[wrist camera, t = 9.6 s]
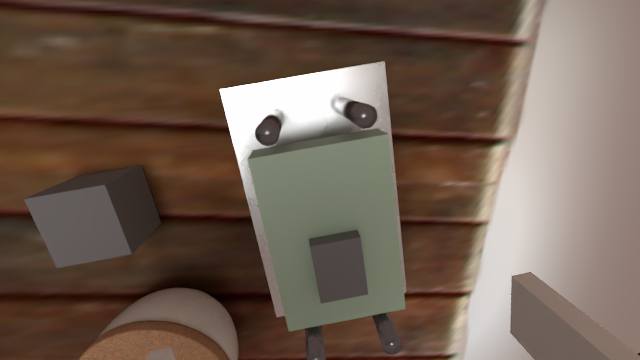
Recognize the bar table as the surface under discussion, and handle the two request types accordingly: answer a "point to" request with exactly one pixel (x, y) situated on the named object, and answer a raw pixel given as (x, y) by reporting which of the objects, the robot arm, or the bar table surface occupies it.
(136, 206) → the dark grey cube
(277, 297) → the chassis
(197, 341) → the lidded jar
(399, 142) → the bar table surface
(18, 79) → the bar table surface
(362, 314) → the board
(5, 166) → the bar table surface
